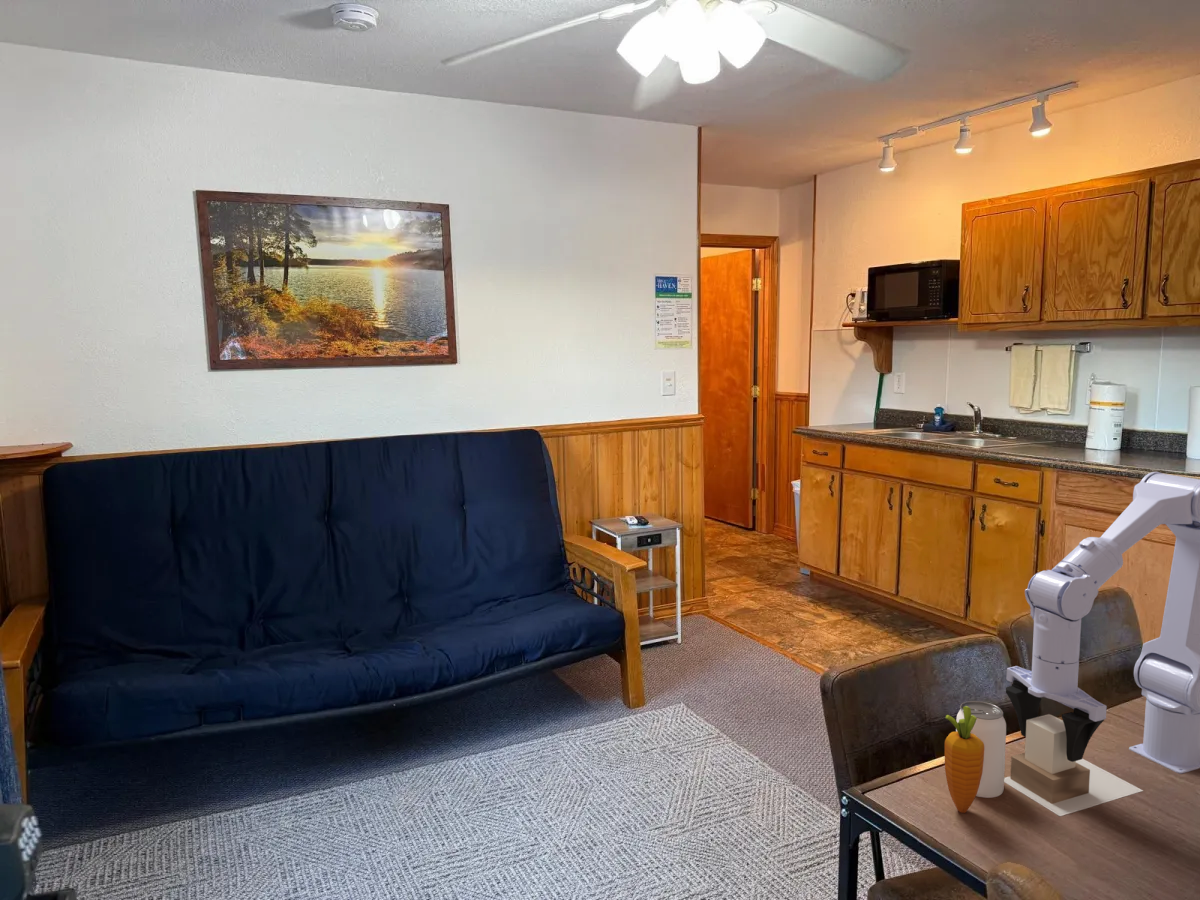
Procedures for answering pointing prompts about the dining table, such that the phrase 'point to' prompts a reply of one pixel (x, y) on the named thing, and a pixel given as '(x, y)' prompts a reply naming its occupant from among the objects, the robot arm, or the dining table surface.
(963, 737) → the carrot
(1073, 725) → the robot arm
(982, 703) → the can
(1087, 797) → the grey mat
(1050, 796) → the brown block
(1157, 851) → the dining table surface
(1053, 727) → the cream block
